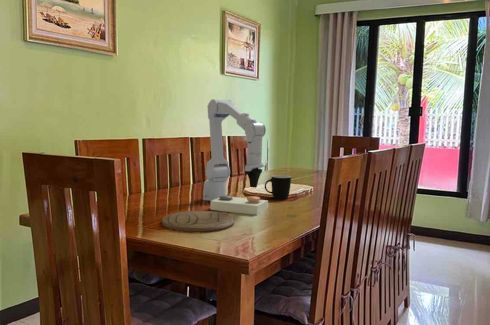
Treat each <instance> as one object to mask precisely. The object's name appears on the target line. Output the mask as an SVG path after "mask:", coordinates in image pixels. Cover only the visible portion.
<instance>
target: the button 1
mask: <svg viewBox="0 0 490 325" xmlns="http://www.w3.org/2000/svg"><path fill="white" fill-rule="evenodd" d="M232 197H233V196H232V195H228V194H226V195H222V196H220V199H221V200H224V201H230V200H232Z"/></svg>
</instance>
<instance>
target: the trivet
mask: <svg viewBox="0 0 490 325" xmlns="http://www.w3.org/2000/svg"><path fill="white" fill-rule="evenodd" d="M161 223H162V226H163V227H165V228H166V229H168V228H169V230H171V229H172V231H175V230H177V231H176V232H181V231H183V233H194V232H200V233H201V232H203V233H213V232H214V231H215V232H220V231H224V230H229V229H230V228H232V227H233V226H235V217H233V215H230V214H227V213H224V212H221V211H220V212H219V211H214V210H210V211H209V210H188V211H178V212H172V213H170V214H166V215H164V216H163V218H162V220H161ZM215 232H214V233H215ZM200 233H199V234H200Z"/></svg>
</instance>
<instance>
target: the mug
mask: <svg viewBox="0 0 490 325" xmlns="http://www.w3.org/2000/svg"><path fill="white" fill-rule="evenodd" d="M269 182H271V183H270V184H271V191H270V190H269V189H267V184H268V183H269ZM291 182H292V177H291V176H290V175H286V174H285V175H284V174H274V175H271V178H270V179H267V180H266V182H265V183H264V190H265V191H266V192H267V193H268V194H271V195H272V197H273V198H274V199H276V200H287V199H288V198H289V196H290V191H291V185H292V184H291Z"/></svg>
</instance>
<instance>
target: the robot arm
mask: <svg viewBox="0 0 490 325" xmlns="http://www.w3.org/2000/svg"><path fill="white" fill-rule="evenodd" d="M206 106H207V119H208V120H209V121H208V122H209V135H210V136H209V139H210V152H211V153H210V154H211V158H210V159H209V160H208V161H207V162H206V167H205V177H206V178H207V179H206V180H204V184H203V196H202V197H203V198H202V201H207V202H211V201H212V200H214V199H217V198H220V196H222V195H227V194H226V192H227V181H228V179H229V177H230V175H231V168H230V166H229V161H228V160H227V159H226V158H225V157H224V142H223V126H222V122H223V121H224V120H226V119H227V118H228V117H229V116H230V117H232V118H233V119H234V120H236V124H237V125H238V126H239V127H240V128H241V129H242V130H244V134H245V137H246V142H247V154H246V155H247V156H246V157H247V158H246V160H247V161H246V164H245V166H244V171H245V173H246V175H247V177H248V180H249V185H250V188H252V189H253V188H255V189H256V188H257V187H258V183H259V180H260V177H261V175H262V173H263V169H262V168H265V164H264V163H263V161H262V160H263V159H262V158H263V157H262V156H263V137H264V136H265V135H266V131H267V130H266V125H265V124H264V123H263V122H262V121H260V122H258V121H257V120H256V119H255V118H252V116H250V114H249V113H248V112H241V111H240V110H239V109H238V107H236V106H235V102H234V101H232V100H231V99H226V100H225V99H210V100H209V102H208V104H207V105H206Z"/></svg>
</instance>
